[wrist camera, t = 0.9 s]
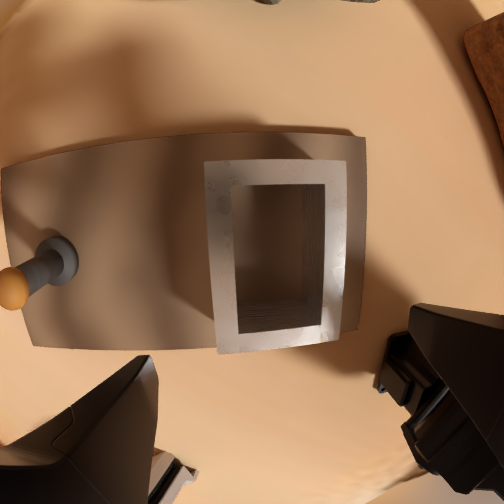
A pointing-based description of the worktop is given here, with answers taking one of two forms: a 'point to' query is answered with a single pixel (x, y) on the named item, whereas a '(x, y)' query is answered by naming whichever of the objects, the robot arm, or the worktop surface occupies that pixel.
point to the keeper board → (160, 238)
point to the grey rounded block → (167, 479)
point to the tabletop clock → (369, 0)
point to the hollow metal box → (313, 255)
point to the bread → (489, 62)
